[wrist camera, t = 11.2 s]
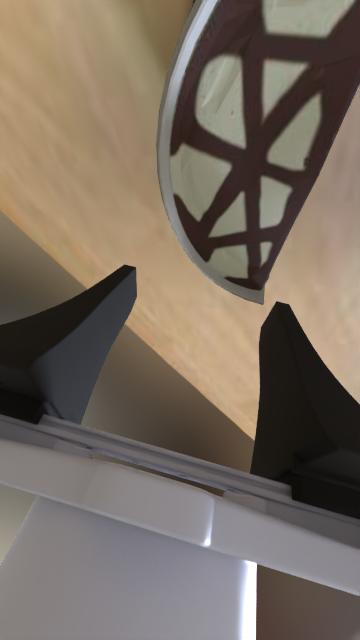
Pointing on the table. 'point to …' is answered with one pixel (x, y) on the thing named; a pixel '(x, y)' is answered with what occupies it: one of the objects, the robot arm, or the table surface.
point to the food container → (251, 127)
